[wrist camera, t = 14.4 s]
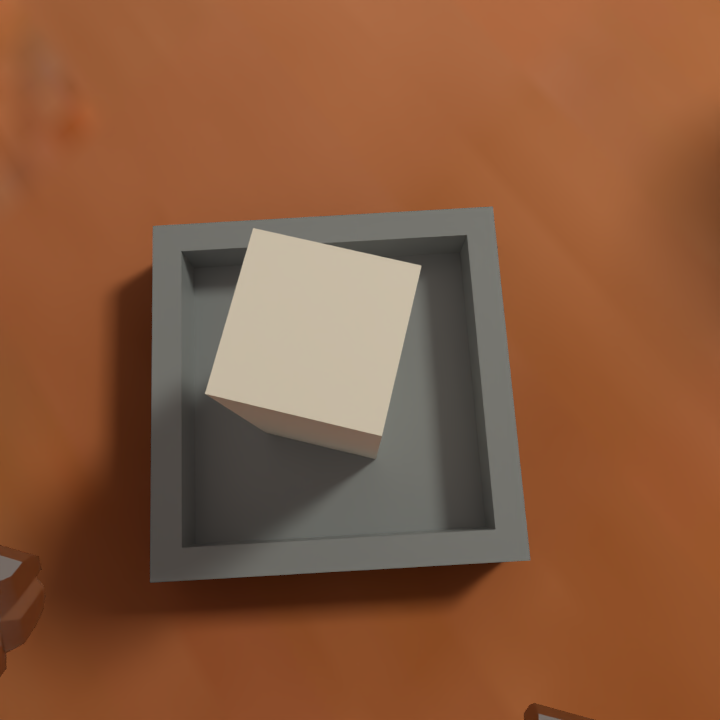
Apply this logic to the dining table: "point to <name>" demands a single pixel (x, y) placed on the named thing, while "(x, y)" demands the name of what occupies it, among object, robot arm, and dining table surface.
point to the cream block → (314, 341)
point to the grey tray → (325, 465)
